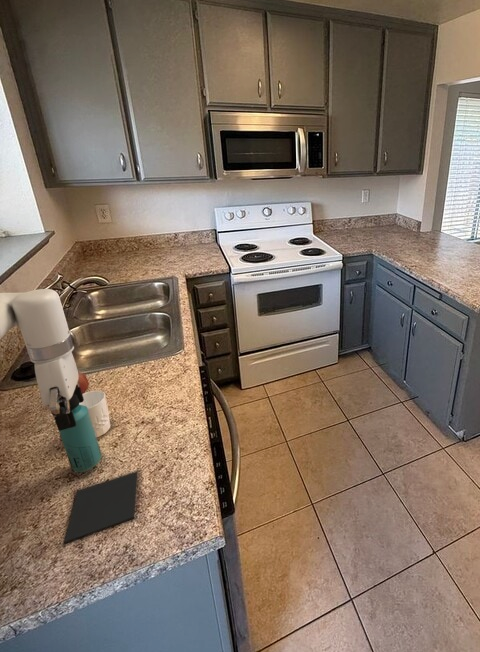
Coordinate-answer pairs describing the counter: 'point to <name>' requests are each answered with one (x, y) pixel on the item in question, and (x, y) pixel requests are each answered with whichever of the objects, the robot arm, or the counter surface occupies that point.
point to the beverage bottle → (80, 438)
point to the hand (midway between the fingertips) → (72, 414)
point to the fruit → (83, 382)
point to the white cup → (97, 411)
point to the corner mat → (102, 506)
